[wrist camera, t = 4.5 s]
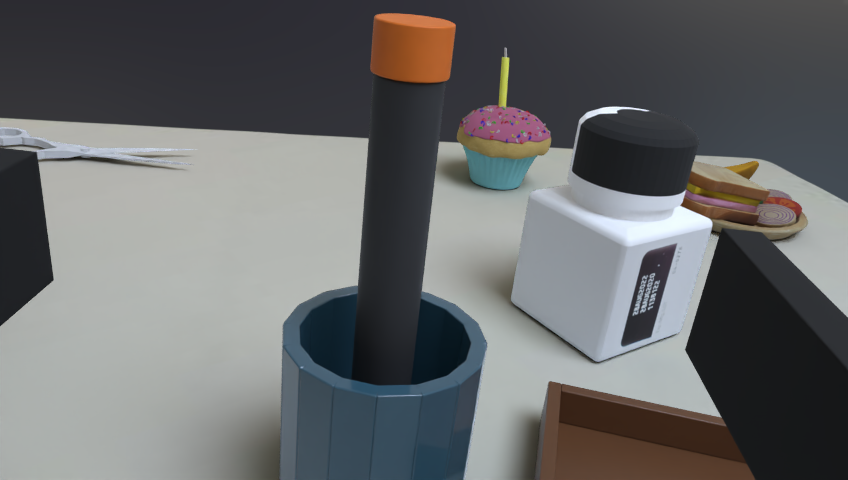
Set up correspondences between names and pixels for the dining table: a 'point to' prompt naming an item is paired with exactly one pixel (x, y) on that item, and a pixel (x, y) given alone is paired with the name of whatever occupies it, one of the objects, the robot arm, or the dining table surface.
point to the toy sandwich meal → (741, 201)
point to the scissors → (73, 148)
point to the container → (615, 236)
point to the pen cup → (377, 397)
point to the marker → (399, 190)
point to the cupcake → (502, 141)
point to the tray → (631, 440)
